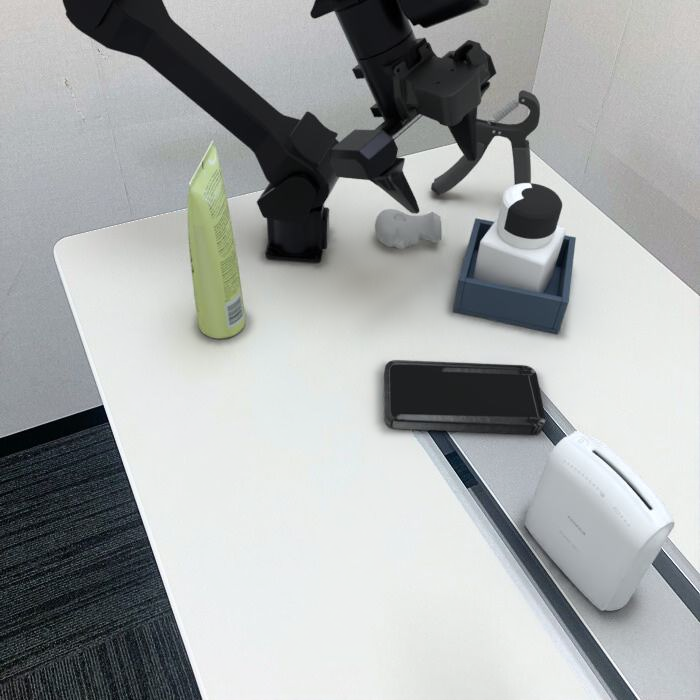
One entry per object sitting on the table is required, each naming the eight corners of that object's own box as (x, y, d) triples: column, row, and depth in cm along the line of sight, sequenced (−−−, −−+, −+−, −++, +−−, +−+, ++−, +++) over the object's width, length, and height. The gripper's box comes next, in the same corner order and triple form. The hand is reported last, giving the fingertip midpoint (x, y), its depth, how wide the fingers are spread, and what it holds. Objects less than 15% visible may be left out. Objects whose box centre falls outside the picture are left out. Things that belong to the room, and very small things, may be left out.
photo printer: (514, 522, 64) (547, 432, 55) (551, 500, 66) (589, 409, 57) (601, 623, 58) (653, 541, 49) (640, 596, 60) (697, 512, 51)
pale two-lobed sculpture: (371, 255, 90) (378, 220, 92) (438, 263, 89) (443, 228, 91) (370, 233, 86) (377, 198, 88) (440, 242, 85) (445, 206, 88)
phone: (547, 427, 70) (385, 420, 70) (544, 434, 71) (384, 428, 70) (534, 364, 75) (384, 358, 75) (532, 372, 76) (384, 365, 76)
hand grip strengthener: (431, 188, 98) (446, 79, 87) (528, 201, 97) (555, 92, 86) (429, 198, 97) (444, 88, 86) (527, 212, 95) (555, 101, 85)
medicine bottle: (552, 278, 86) (578, 188, 77) (530, 315, 81) (556, 224, 73) (493, 257, 88) (513, 167, 79) (469, 291, 83) (487, 201, 75)
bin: (452, 312, 82) (458, 279, 79) (469, 249, 90) (475, 217, 86) (558, 334, 80) (568, 302, 77) (566, 268, 88) (576, 237, 85)
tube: (187, 314, 80) (160, 153, 66) (230, 298, 82) (213, 138, 68) (211, 347, 77) (188, 184, 63) (255, 329, 79) (242, 167, 65)
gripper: (369, 97, 60) (440, 252, 68) (512, -20, 66) (561, 136, 75) (293, 100, 68) (365, 237, 77) (426, -4, 75) (479, 134, 83)
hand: (444, 185), depth 78 cm, fingers open, 9 cm apart
